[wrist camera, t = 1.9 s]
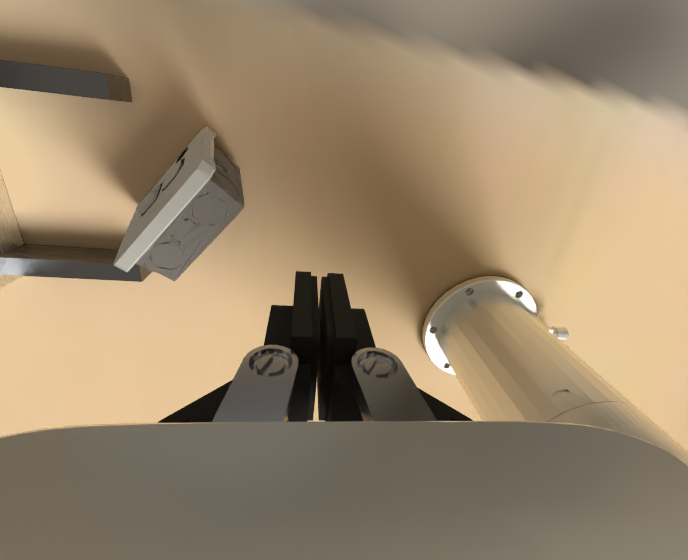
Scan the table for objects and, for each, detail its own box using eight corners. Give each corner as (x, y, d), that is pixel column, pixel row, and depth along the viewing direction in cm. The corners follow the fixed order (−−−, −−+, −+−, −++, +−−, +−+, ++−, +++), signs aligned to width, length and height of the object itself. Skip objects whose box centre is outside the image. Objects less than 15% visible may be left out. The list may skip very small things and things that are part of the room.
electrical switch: (208, 122, 26) (175, 138, 18) (260, 171, 28) (251, 204, 20) (138, 206, 28) (81, 252, 20) (192, 244, 30) (160, 299, 22)
